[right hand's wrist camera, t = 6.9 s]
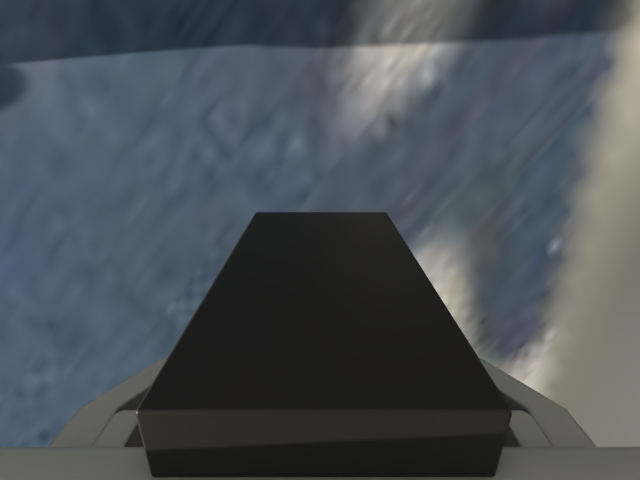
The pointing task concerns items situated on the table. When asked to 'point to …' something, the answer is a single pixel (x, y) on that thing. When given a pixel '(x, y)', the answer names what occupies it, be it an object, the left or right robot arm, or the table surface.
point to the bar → (322, 364)
